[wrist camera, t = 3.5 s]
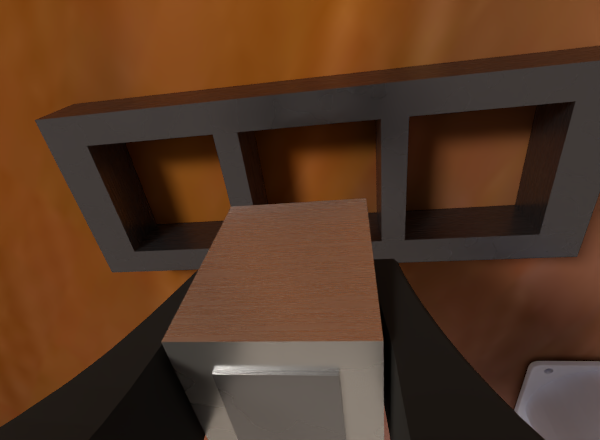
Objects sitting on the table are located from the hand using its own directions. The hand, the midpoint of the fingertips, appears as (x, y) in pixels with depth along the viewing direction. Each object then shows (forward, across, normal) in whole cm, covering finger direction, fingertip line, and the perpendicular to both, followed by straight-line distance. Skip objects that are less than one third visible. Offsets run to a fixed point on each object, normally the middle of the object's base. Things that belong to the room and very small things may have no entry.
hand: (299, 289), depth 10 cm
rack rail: (+8, 0, 0) cm, 8 cm away
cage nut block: (+2, 0, 0) cm, 2 cm away
